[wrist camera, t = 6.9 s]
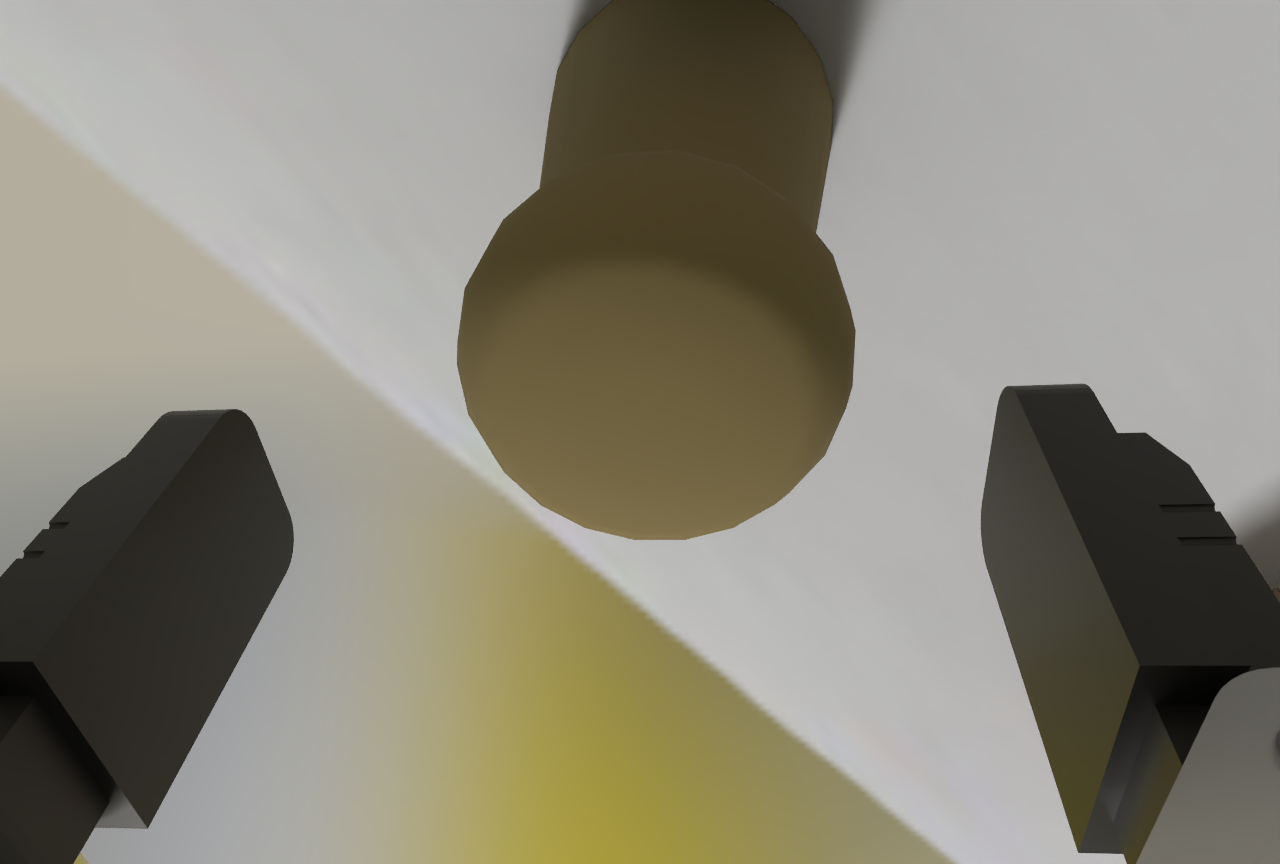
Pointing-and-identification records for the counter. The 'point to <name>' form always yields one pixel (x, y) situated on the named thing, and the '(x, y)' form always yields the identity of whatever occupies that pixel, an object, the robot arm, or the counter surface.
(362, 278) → the counter surface
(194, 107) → the counter surface
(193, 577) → the robot arm
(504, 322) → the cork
